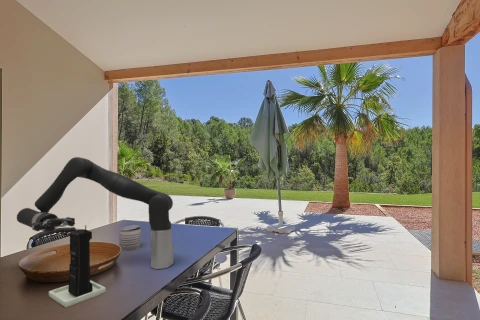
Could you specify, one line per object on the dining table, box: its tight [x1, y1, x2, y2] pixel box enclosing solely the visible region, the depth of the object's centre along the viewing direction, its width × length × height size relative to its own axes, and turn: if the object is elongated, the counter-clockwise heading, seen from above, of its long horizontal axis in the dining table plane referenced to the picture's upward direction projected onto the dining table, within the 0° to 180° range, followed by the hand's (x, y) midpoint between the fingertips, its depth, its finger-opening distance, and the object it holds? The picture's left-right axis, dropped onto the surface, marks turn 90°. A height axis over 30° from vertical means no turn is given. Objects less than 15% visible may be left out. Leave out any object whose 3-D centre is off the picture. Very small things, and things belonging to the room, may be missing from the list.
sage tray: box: [48, 279, 107, 308], centre depth 110 cm, size 14×14×2 cm
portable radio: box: [68, 225, 93, 297], centre depth 110 cm, size 8×6×25 cm
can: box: [118, 224, 142, 252], centre depth 167 cm, size 11×11×12 cm
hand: (61, 225), depth 117 cm, fingers open, 8 cm apart
